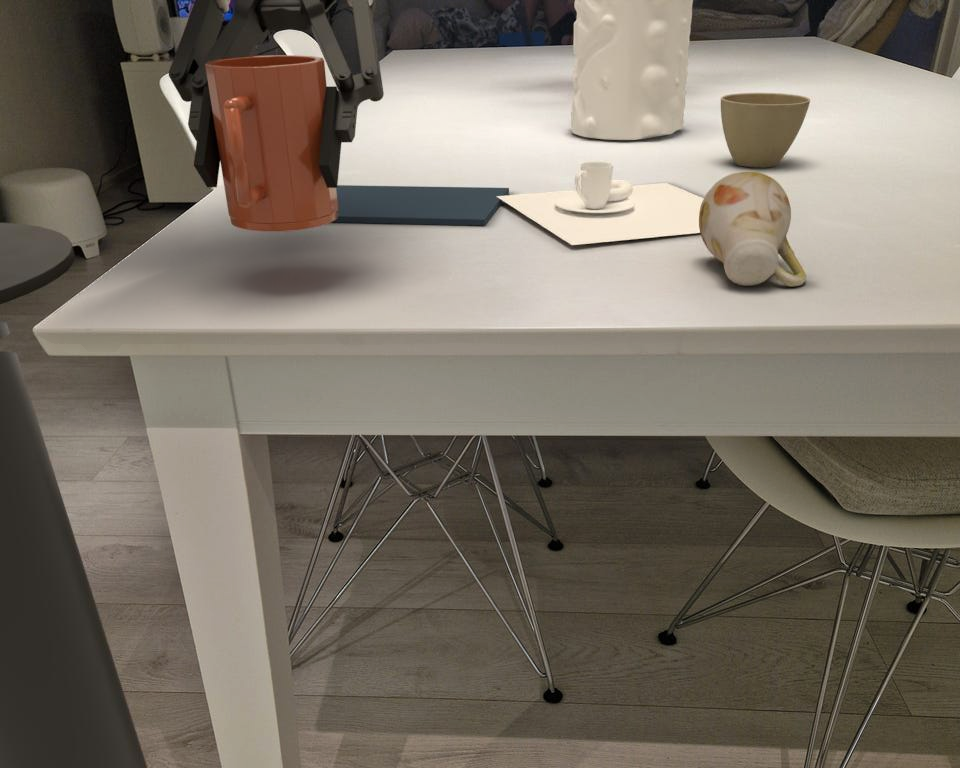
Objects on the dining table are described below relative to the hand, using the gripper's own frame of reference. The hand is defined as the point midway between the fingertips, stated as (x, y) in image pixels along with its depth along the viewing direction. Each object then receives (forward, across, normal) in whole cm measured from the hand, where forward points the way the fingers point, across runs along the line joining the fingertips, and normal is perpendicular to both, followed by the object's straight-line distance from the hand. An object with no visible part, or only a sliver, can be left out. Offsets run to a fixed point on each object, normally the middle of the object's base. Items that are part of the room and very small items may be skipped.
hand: (266, 176), depth 68 cm
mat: (-14, -5, -27) cm, 31 cm away
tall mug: (+1, 0, -4) cm, 4 cm away
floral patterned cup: (+2, -37, -10) cm, 38 cm away
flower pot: (-29, -44, -41) cm, 67 cm away
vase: (-46, -30, -58) cm, 80 cm away
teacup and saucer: (-12, -28, -24) cm, 39 cm away
